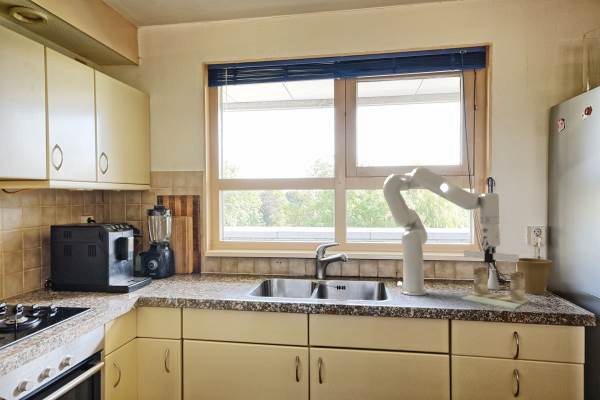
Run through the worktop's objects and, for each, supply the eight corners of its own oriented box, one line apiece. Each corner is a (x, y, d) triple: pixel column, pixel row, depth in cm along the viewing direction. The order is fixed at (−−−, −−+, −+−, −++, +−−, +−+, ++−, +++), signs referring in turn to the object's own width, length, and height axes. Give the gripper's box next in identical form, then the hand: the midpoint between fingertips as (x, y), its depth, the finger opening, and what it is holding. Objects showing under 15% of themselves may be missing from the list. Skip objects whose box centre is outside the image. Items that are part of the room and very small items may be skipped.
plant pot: (559, 294, 178) (559, 261, 178) (537, 297, 173) (536, 263, 172) (530, 287, 192) (530, 256, 192) (509, 290, 186) (508, 258, 186)
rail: (464, 256, 173) (464, 250, 173) (466, 256, 175) (466, 250, 175) (516, 262, 157) (516, 255, 157) (518, 261, 159) (518, 254, 159)
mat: (461, 299, 171) (461, 298, 171) (469, 296, 177) (469, 294, 177) (514, 309, 155) (514, 308, 155) (520, 305, 161) (520, 304, 161)
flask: (502, 290, 187) (502, 270, 187) (487, 290, 188) (487, 270, 188) (498, 287, 194) (498, 267, 194) (483, 286, 196) (483, 267, 196)
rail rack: (471, 295, 178) (470, 268, 178) (477, 292, 184) (477, 266, 184) (522, 304, 162) (522, 274, 162) (528, 301, 167) (528, 272, 167)
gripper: (491, 222, 158) (491, 265, 158) (505, 220, 169) (505, 260, 169) (473, 221, 163) (473, 263, 163) (487, 219, 174) (488, 259, 174)
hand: (490, 261), depth 166 cm, fingers closed on rail, 2 cm apart
